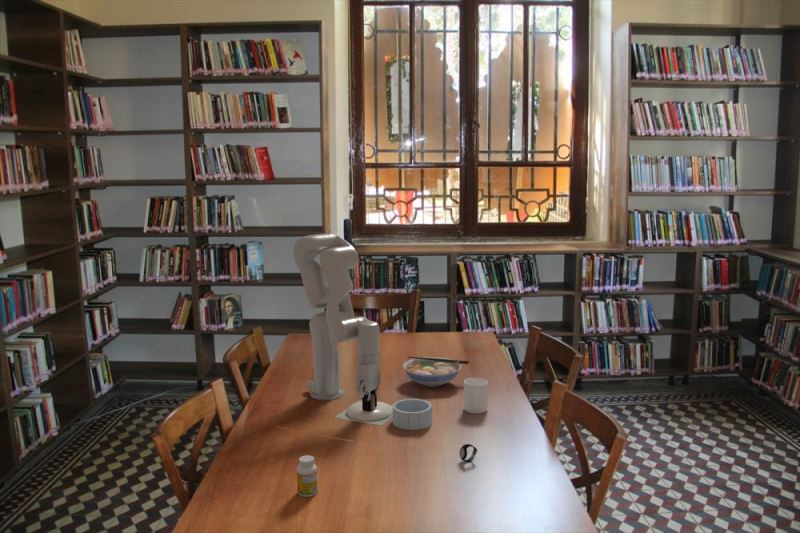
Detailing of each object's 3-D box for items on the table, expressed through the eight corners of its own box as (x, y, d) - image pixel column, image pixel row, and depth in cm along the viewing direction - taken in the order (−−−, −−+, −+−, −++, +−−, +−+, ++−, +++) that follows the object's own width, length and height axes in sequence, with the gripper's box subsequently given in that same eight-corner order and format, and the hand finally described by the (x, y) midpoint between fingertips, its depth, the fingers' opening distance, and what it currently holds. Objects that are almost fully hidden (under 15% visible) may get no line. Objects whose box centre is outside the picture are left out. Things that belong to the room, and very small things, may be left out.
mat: (334, 418, 240) (334, 417, 240) (359, 401, 256) (359, 400, 256) (381, 426, 232) (381, 425, 232) (404, 408, 248) (404, 407, 248)
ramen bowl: (391, 389, 268) (390, 368, 266) (412, 371, 289) (412, 352, 287) (453, 397, 258) (453, 376, 257) (471, 378, 279) (471, 358, 278)
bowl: (386, 426, 232) (385, 409, 231) (402, 413, 244) (402, 396, 242) (422, 433, 226) (422, 415, 225) (437, 419, 238) (437, 402, 237)
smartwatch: (459, 458, 208) (459, 442, 207) (476, 458, 208) (476, 442, 207) (460, 464, 204) (460, 448, 203) (477, 464, 204) (477, 448, 203)
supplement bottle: (298, 488, 191) (296, 454, 189) (318, 487, 191) (316, 453, 190) (296, 498, 186) (295, 463, 184) (317, 496, 186) (316, 462, 184)
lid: (338, 416, 240) (337, 399, 239) (360, 401, 254) (359, 385, 253) (380, 423, 233) (379, 406, 232) (400, 407, 248) (400, 391, 247)
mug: (487, 418, 238) (487, 389, 236) (462, 417, 239) (462, 388, 237) (487, 405, 250) (487, 378, 248) (464, 405, 251) (464, 377, 249)
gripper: (370, 350, 250) (371, 399, 253) (347, 363, 235) (348, 415, 238) (389, 352, 246) (389, 402, 249) (367, 365, 232) (368, 418, 235)
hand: (369, 408), depth 244 cm, fingers closed on lid, 3 cm apart
